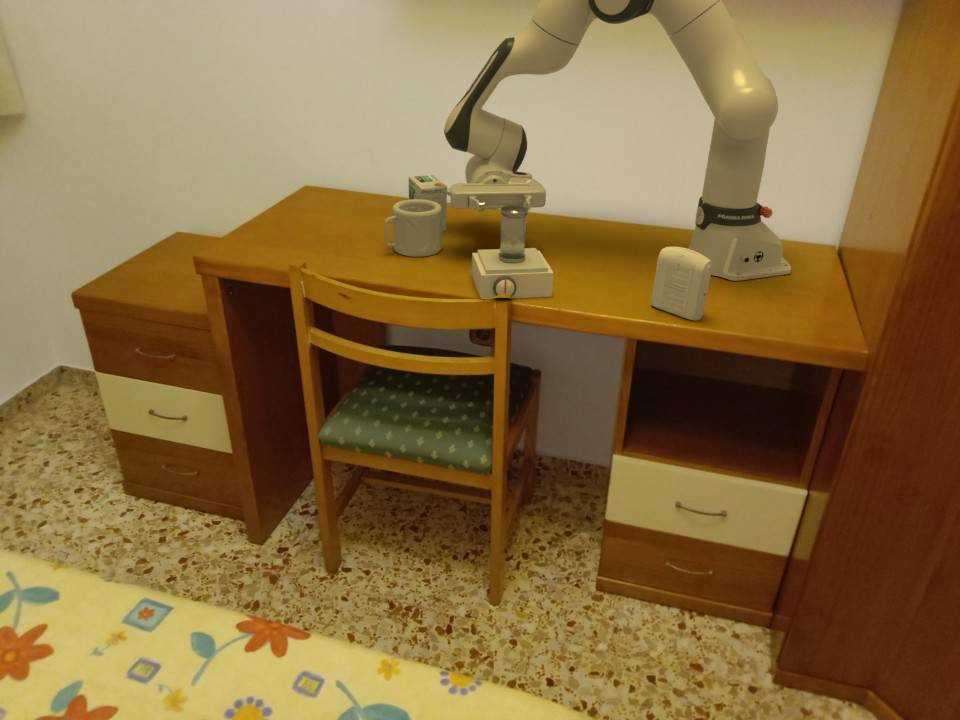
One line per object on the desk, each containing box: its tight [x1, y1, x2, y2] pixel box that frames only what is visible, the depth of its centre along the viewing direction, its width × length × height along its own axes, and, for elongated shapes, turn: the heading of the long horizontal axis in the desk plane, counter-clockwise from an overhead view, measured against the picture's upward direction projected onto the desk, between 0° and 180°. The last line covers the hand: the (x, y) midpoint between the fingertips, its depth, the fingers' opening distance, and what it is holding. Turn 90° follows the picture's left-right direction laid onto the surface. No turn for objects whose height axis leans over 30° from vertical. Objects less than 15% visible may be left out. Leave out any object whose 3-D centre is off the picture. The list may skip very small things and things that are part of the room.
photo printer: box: [650, 246, 712, 322], centre depth 139 cm, size 10×4×12 cm, turn 47°
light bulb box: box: [408, 174, 448, 232], centre depth 180 cm, size 11×7×11 cm, turn 21°
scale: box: [471, 247, 554, 299], centre depth 148 cm, size 14×13×6 cm
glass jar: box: [499, 205, 529, 264], centre depth 145 cm, size 5×5×10 cm
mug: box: [384, 199, 443, 258], centre depth 164 cm, size 14×11×10 cm
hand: (503, 207), depth 152 cm, fingers open, 8 cm apart
